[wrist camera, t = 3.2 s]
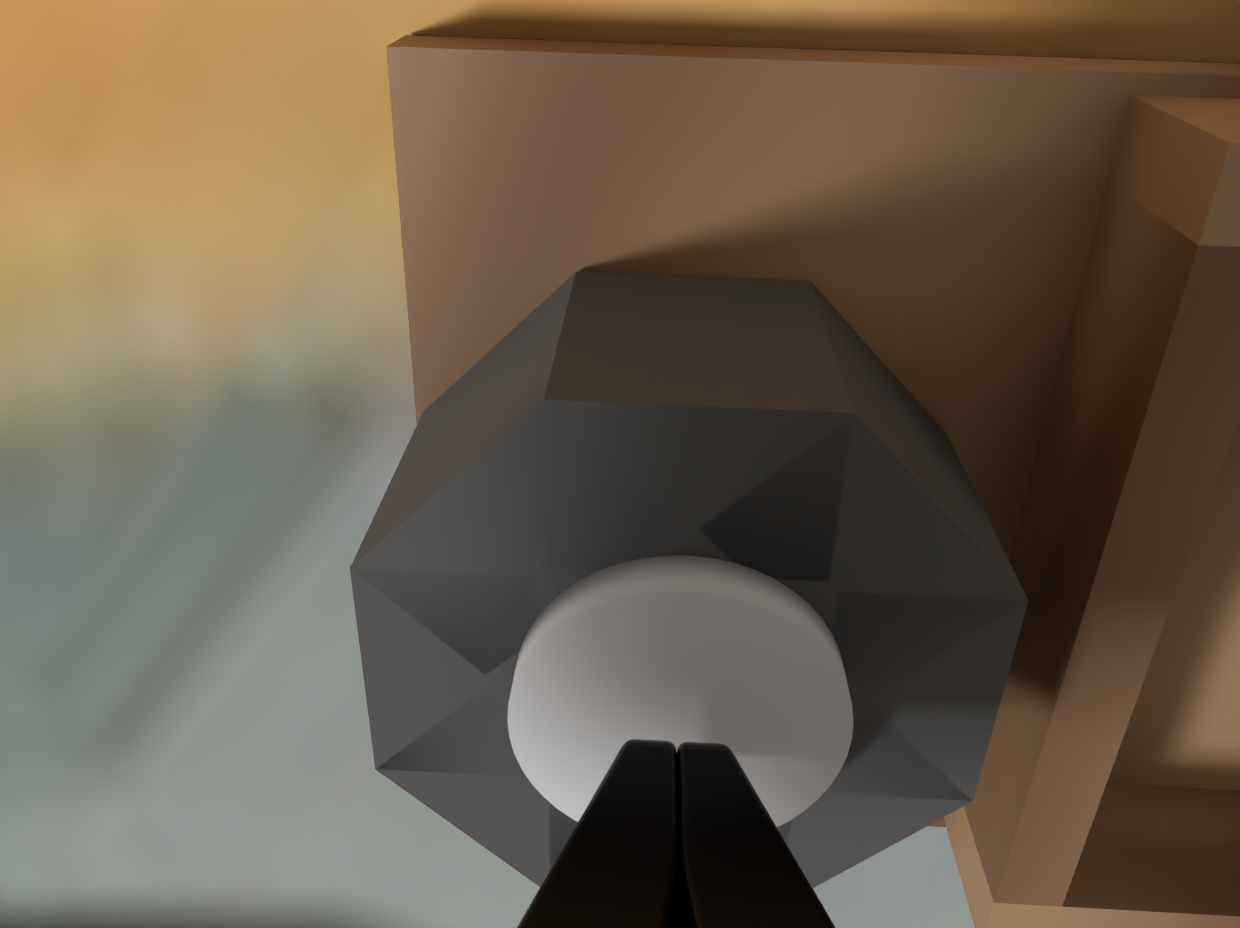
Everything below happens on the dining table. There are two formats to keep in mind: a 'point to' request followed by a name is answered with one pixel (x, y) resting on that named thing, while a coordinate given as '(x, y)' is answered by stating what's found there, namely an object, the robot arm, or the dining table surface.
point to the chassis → (933, 365)
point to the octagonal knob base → (684, 574)
